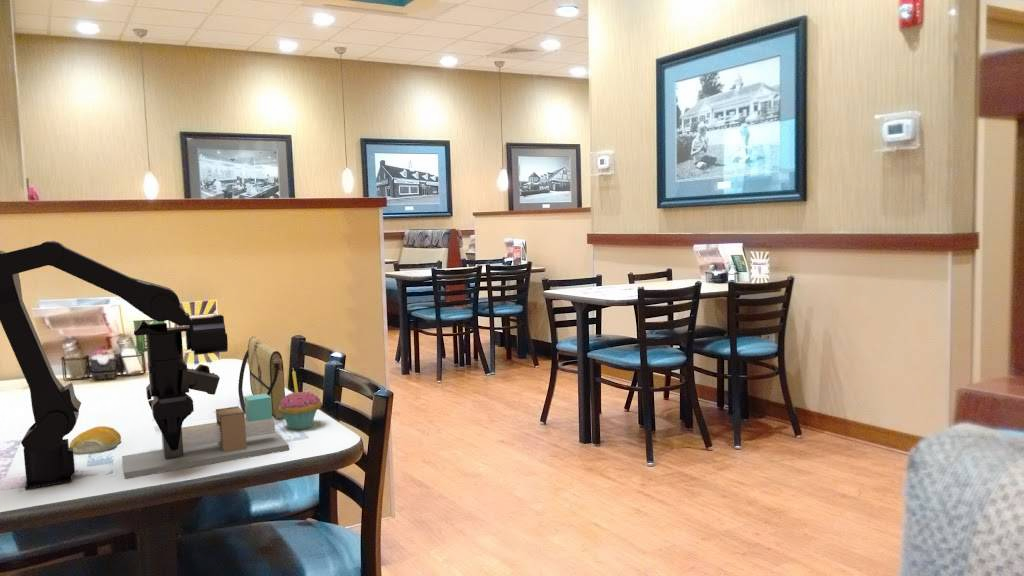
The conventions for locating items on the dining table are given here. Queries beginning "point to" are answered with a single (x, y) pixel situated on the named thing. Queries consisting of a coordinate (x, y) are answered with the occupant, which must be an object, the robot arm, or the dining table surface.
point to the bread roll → (95, 440)
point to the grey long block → (214, 435)
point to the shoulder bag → (264, 374)
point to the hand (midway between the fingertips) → (172, 444)
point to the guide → (208, 448)
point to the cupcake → (299, 407)
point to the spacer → (258, 407)
